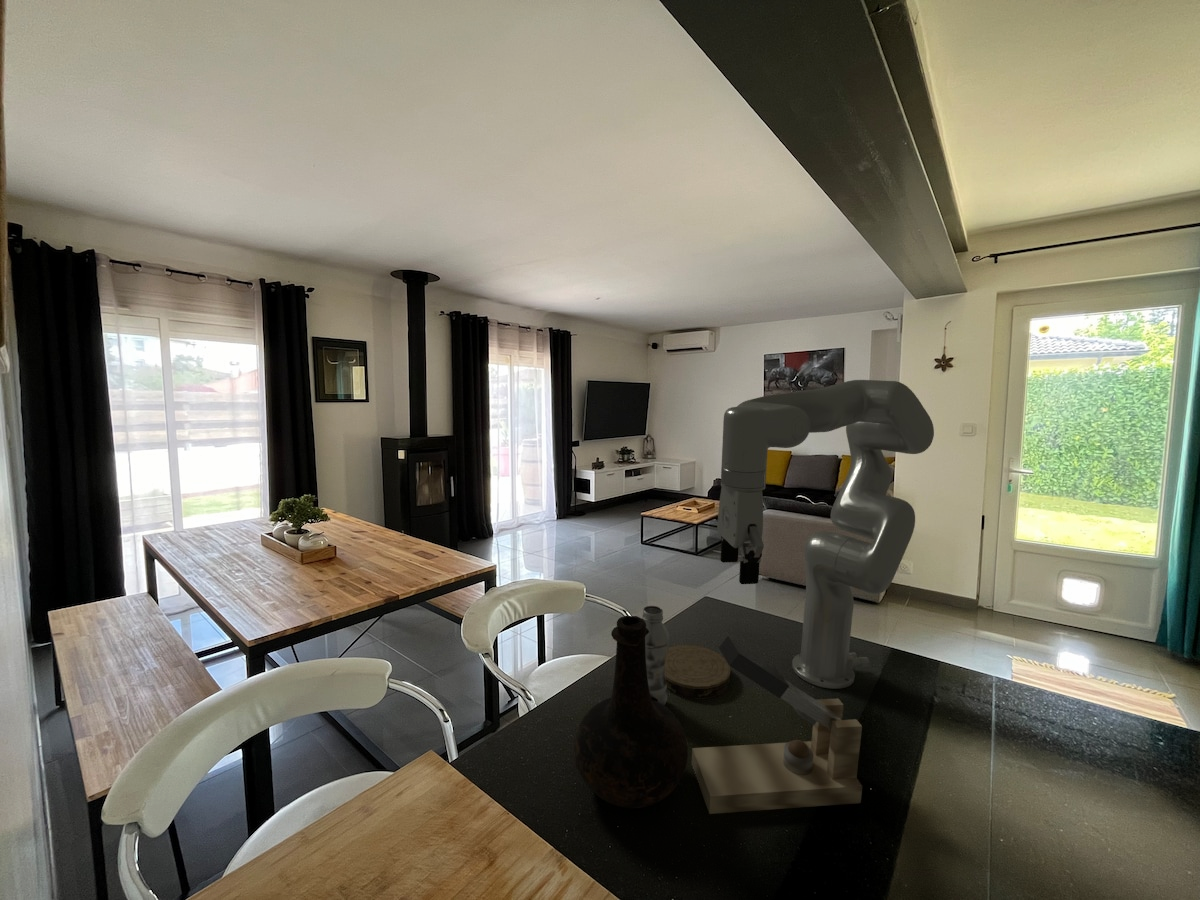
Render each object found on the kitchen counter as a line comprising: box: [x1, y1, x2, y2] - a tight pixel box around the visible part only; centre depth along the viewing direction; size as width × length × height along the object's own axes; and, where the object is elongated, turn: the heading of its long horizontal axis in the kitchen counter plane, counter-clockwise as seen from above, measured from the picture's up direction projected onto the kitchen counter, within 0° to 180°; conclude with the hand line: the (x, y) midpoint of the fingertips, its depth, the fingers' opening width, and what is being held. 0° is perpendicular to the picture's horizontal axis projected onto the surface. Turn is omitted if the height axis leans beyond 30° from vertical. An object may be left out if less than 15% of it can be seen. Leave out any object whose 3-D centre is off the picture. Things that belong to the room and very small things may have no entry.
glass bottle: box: [573, 615, 689, 809], centre depth 83 cm, size 18×18×28 cm
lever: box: [718, 635, 841, 730], centre depth 83 cm, size 23×5×3 cm
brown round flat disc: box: [665, 644, 731, 700], centre depth 114 cm, size 16×16×3 cm
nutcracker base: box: [691, 698, 863, 815], centre depth 85 cm, size 24×10×12 cm, turn 96°
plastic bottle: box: [642, 605, 670, 706], centre depth 103 cm, size 6×7×20 cm
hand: (738, 571), depth 95 cm, fingers open, 9 cm apart
